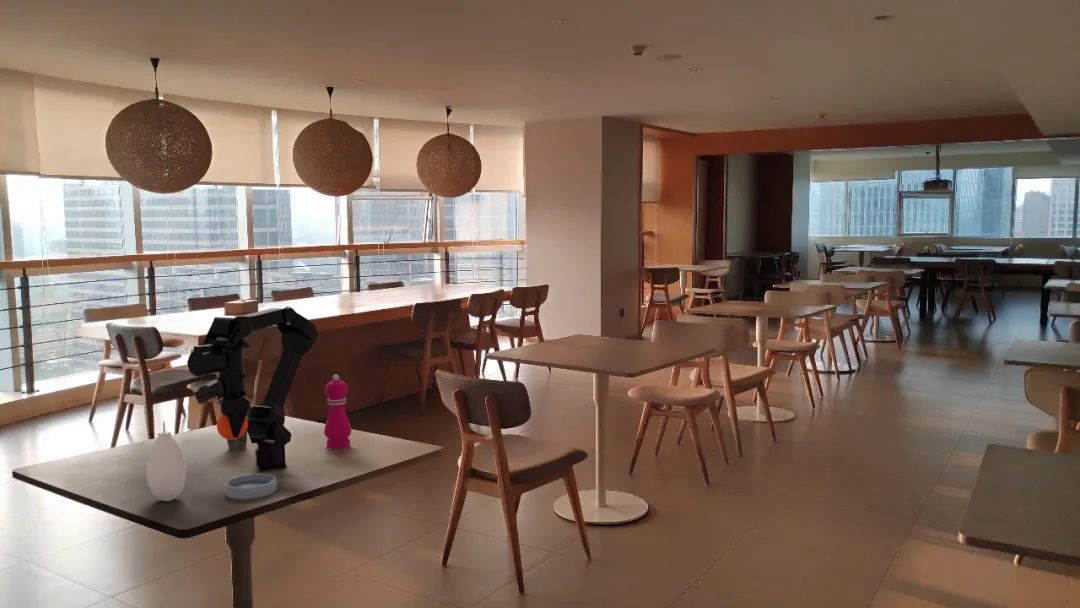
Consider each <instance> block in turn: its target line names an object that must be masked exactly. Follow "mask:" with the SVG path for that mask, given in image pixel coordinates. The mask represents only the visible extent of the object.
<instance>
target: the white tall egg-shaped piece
mask: <svg viewBox="0 0 1080 608" xmlns="http://www.w3.org/2000/svg"><path fill="white" fill-rule="evenodd" d="M146 462H147V463H146V480H147V484H148V487H149V489H150V491H151V493H152V494H153V496H154V497H156V498H158V499H159V500H160V501H164V502H170V501H173V500H174V499H176V498H177V497H178V495H179V494H181V493H182V491H183V489H184V487H185V484H186V480H187V479H186V478H187V464H186V460H185V456H184V454H183V450H182V449H181V446H180V444H179V443H178V442H177V441H176V439H175V438H174V437H173V436H172V432H170V431H166V424H165V420H163V421H162V431H159V432H158V433H157V437H156V439H155V441H154V442H153V444H152V446H151V448H150V450H149V453H148V456H147V461H146Z"/></svg>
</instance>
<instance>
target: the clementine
mask: <svg viewBox="0 0 1080 608" xmlns="http://www.w3.org/2000/svg"><path fill="white" fill-rule="evenodd" d="M248 417H249V416H248ZM248 417H247V416H246V418H247V419H248ZM246 418H245V420H244V423H243V426H242V428H241V431H240V434H239V436H238V437H236V438H234V437H233V435H232V431H231V427H230V423H229V419H228V417H227V416H225V415H224V414H222V413H221V415H220V416H219V417H218V418H217V422H216V430H217V432H218V434H219V435H220V436H221V437H222V438H224V439H226V440H227V439H229V440H235V439H238V438H240V437H241V436H243V435H244V433H245V432H246V430H247V428H248V422H247V419H246ZM248 421H249V420H248Z"/></svg>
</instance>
